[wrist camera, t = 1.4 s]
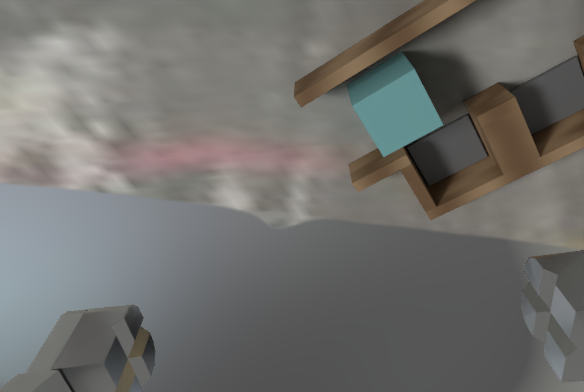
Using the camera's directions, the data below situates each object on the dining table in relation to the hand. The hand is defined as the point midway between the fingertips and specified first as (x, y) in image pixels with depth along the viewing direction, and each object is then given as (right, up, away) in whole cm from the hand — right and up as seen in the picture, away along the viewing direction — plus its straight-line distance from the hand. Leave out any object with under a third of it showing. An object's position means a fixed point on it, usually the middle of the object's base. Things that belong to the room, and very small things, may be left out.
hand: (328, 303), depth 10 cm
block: (+7, +11, +28) cm, 31 cm away
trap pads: (+17, +8, +30) cm, 35 cm away
